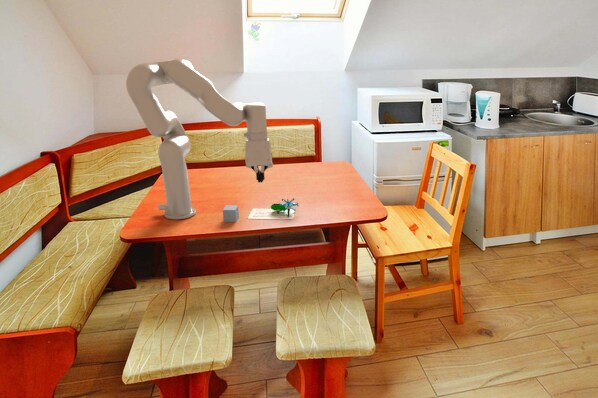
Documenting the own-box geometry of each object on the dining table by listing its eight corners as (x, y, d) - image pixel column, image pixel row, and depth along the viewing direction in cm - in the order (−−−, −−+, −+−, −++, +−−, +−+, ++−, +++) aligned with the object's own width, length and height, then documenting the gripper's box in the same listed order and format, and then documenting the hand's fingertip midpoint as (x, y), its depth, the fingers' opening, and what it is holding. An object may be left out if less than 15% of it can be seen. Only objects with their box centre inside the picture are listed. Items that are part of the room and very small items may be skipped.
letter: (247, 218, 168) (247, 218, 168) (252, 208, 178) (252, 208, 178) (292, 219, 166) (292, 219, 166) (295, 209, 176) (295, 209, 176)
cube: (223, 221, 166) (222, 209, 164) (226, 216, 170) (225, 205, 169) (236, 221, 165) (235, 210, 164) (239, 217, 170) (238, 205, 168)
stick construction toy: (301, 204, 174) (294, 194, 168) (301, 219, 170) (294, 208, 164) (274, 210, 178) (267, 200, 172) (274, 224, 174) (266, 214, 168)
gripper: (236, 138, 159) (240, 184, 165) (275, 137, 158) (278, 184, 164) (240, 134, 166) (244, 179, 172) (278, 133, 165) (280, 178, 171)
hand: (260, 181), depth 168 cm, fingers closed
